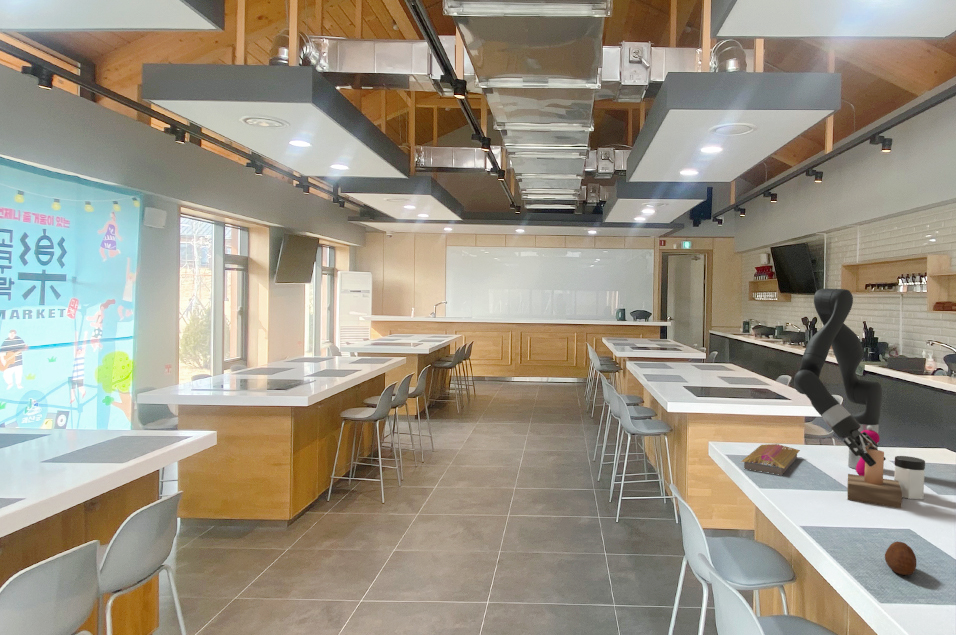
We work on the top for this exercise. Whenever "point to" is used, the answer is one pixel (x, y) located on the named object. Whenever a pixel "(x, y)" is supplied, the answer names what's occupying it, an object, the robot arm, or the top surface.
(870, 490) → the base block
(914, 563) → the potato
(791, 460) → the slab with pink ridge
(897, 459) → the jar
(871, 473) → the post
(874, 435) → the pepper mill
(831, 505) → the top surface
